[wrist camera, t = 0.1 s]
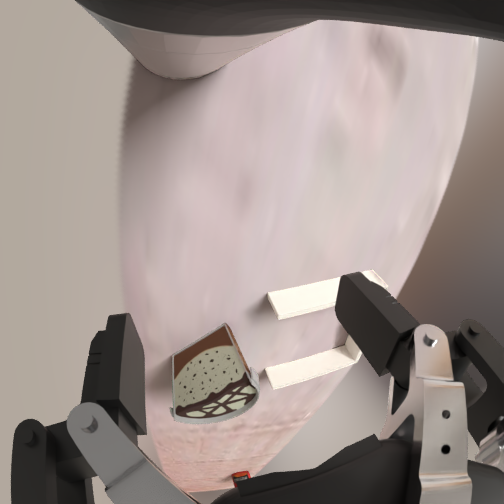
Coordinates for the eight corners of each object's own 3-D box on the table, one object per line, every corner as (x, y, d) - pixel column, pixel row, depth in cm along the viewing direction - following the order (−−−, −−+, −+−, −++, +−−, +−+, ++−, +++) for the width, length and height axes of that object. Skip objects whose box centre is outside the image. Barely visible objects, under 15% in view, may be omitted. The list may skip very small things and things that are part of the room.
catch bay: (267, 292, 34) (278, 315, 30) (372, 269, 37) (388, 285, 34) (265, 370, 43) (272, 389, 40) (347, 346, 47) (357, 362, 43)
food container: (192, 375, 39) (203, 432, 31) (164, 359, 36) (171, 421, 28) (258, 337, 38) (282, 396, 30) (234, 316, 34) (256, 382, 26)
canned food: (247, 469, 86) (254, 491, 77) (250, 472, 91) (257, 492, 82) (229, 474, 85) (236, 495, 76) (233, 476, 90) (239, 496, 81)
